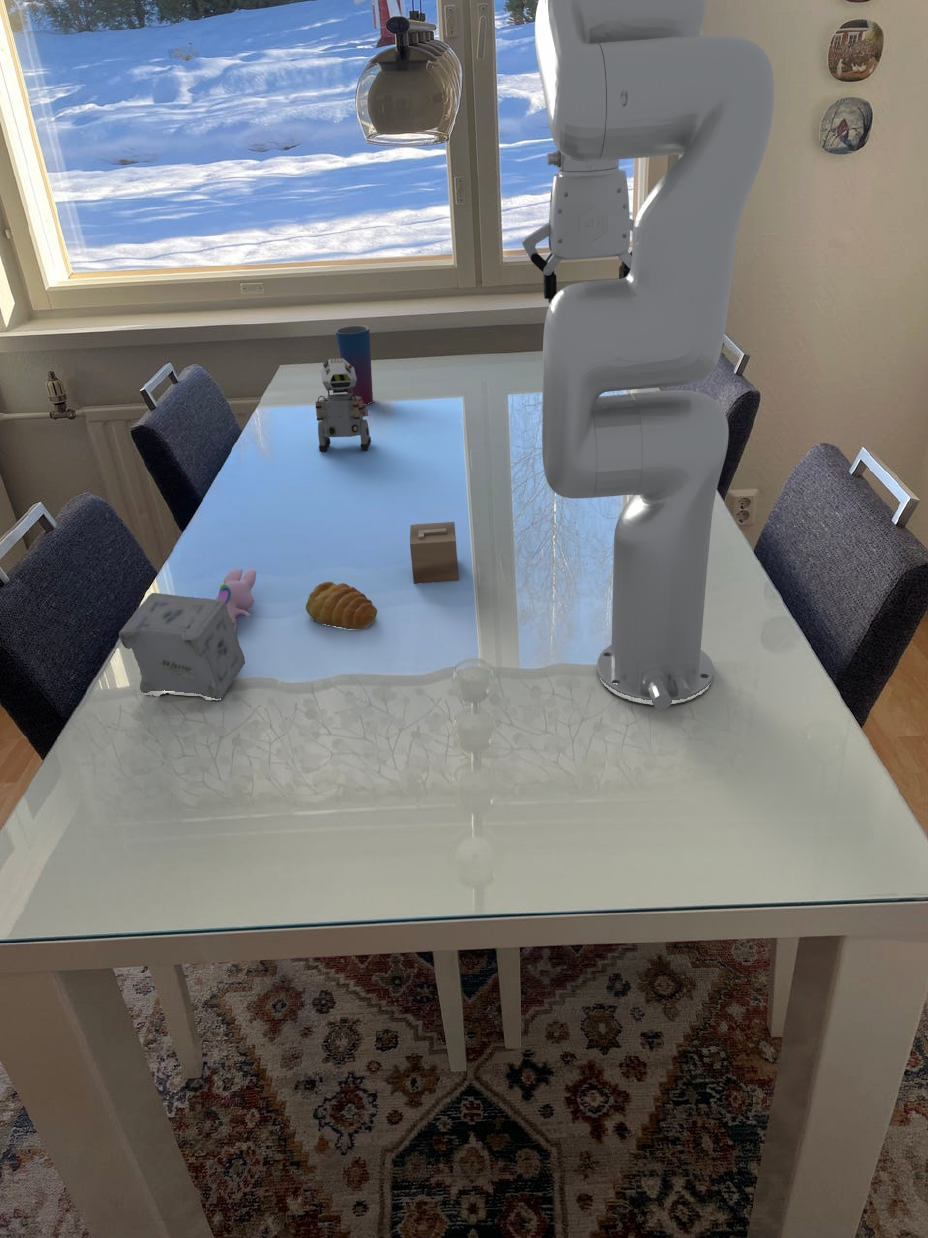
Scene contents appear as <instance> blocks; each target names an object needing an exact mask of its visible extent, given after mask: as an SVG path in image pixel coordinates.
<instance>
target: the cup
mask: <svg viewBox="0 0 928 1238" xmlns="http://www.w3.org/2000/svg"><path fill="white" fill-rule="evenodd" d="M370 334H371V333H370V327H369V326H367V325H362V324H361V325H360V324H359V325H357V324H355V325H348V326H347V325H344V326H342V327H339V328H337V329H335V337H336V342H337V348H338V353H339V354H338V355H339V358H343V359H344V360H346V361H347V362H348V363H349V364H350V365H351V366H352V367H354V370H355V371H356V372H357V375H356V378H357V381H356V385H355V387H354V389H353V394H354V396H358V397H362V400H363V401H362V404H363V403H364V404H368V403H370V402H372V401H373V402H374V395H373V393H374V392H373V377H372V376H373V375H372V358H371V357H372V355H371V340H370V339H371V337H370ZM346 394H351V389H348V392H346ZM373 402H372V403H373Z"/></svg>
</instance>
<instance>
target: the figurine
mask: <svg viewBox="0 0 928 1238" xmlns="http://www.w3.org/2000/svg"><path fill="white" fill-rule="evenodd" d="M320 375H321V382H322V384H323V386H324V388H325V390H326V392H327V397H325V396H324V395H319V396H318V398H317V401H315V410H316V411H315V412H316V421H318V423H317V433H318V434H317V435H318V443H319V444H318V450H319V451H318V452H320V453H327V451H328V449H329V448H330V446H331V438H352V437H357V436H360V451H362V452H365V451H366V452H367V451H368V450H369V447H370V446H371V444H372V438H371V436H370V429H369V424H368V420H367V419H365V418H364V417H369V409H367V408H366V406H365V404H364V403H363V404H362V401H363V400H362V397H358V396H354V394H353V389H354V387H355V385H356V381H357V378H356V375H357V372H356V371H355V370H354V367H352V366H351V365H350V364H349V363H348V362H347V361H346V360H344V359H343V358H340V357H339V358H338V357H337V358H329V359H328V360H326V361H325V362H324V363H323V365H322V368H321V369H320ZM348 389H351V394H347V392H348ZM330 391H332V393H333V394H330ZM320 398H322V399H320Z"/></svg>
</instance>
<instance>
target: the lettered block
mask: <svg viewBox="0 0 928 1238" xmlns="http://www.w3.org/2000/svg"><path fill="white" fill-rule="evenodd" d="M409 529H410V530H409V531H410V532H409V533H410V535H409V547H410V548H409V549H410V559H411V568H412V569H411V570H412V580H413V584H414V585H418V584H419V583H421V584H431V583H432V582H434V583H447V582H458V581H459V567H458V566H459V564H458V552H457V549H458V548H457V540H456V539H457V537H456V536H457V535H456V523H455V521H446V522H444V521H443V522H431V523H418V524H415V523H414V524H410V528H409ZM432 584H433V583H432ZM419 585H420V584H419Z"/></svg>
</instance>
